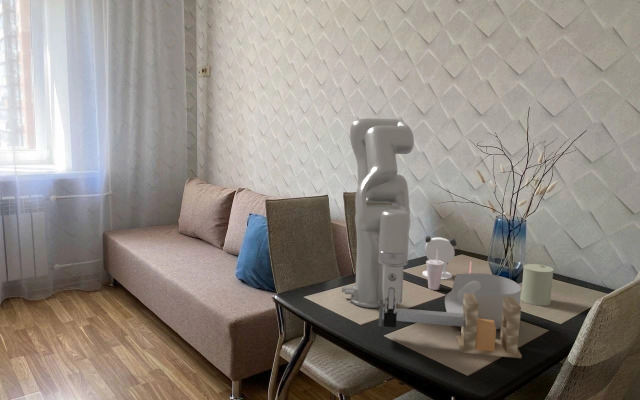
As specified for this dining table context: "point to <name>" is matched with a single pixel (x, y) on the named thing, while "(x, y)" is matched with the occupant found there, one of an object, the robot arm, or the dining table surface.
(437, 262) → the smoothie
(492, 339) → the block
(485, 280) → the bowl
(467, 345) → the bracket
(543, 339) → the dining table surface
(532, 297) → the can
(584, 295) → the dining table surface
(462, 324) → the shaft
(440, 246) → the panda figurine
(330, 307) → the dining table surface
